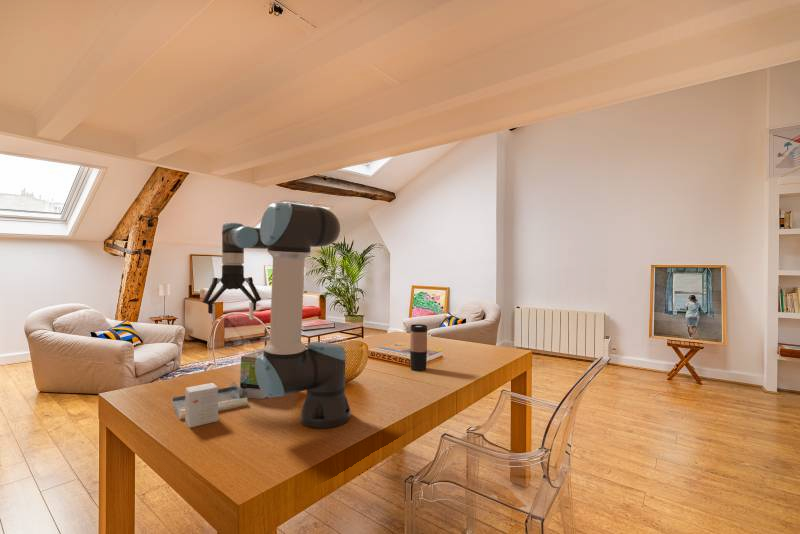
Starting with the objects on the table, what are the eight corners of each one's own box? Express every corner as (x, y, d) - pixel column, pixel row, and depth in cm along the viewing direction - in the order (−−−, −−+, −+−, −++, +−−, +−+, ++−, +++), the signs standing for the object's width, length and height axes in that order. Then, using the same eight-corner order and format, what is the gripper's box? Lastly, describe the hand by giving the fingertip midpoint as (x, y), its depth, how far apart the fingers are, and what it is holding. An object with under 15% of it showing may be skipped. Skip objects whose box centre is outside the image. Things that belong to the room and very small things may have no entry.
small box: (213, 415, 121) (213, 382, 121) (218, 421, 116) (218, 386, 116) (184, 422, 116) (185, 387, 115) (188, 428, 111) (189, 392, 111)
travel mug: (407, 367, 179) (408, 324, 179) (423, 366, 181) (423, 324, 181) (413, 372, 172) (413, 327, 171) (429, 370, 174) (429, 326, 174)
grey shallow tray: (247, 405, 130) (247, 390, 130) (179, 419, 117) (179, 403, 117) (235, 393, 141) (235, 380, 141) (172, 405, 128) (172, 390, 128)
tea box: (264, 399, 135) (265, 357, 135) (239, 397, 137) (239, 356, 137) (285, 386, 150) (286, 348, 150) (262, 384, 152) (262, 347, 152)
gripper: (263, 264, 155) (262, 317, 156) (194, 264, 140) (193, 322, 140) (269, 264, 149) (269, 319, 150) (198, 264, 134) (197, 325, 134)
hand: (232, 321), depth 145 cm, fingers open, 13 cm apart
